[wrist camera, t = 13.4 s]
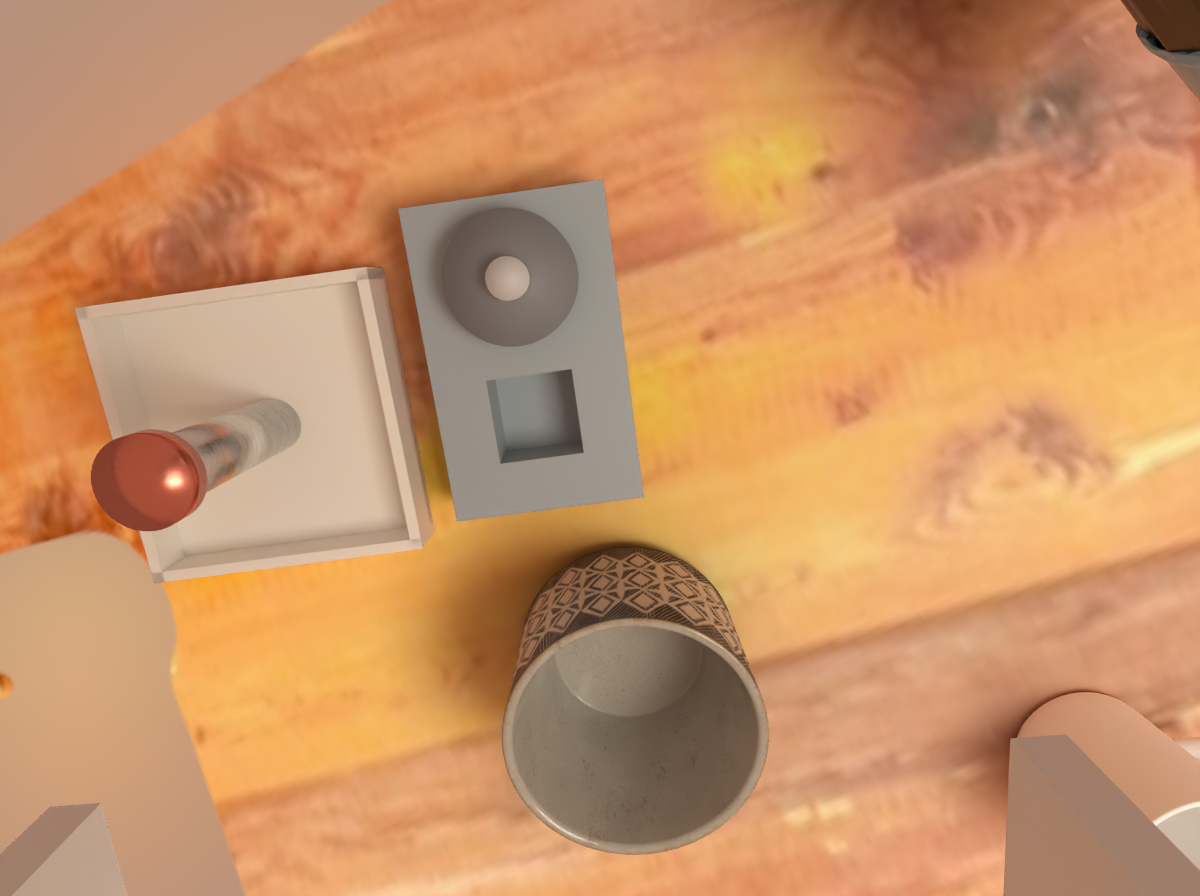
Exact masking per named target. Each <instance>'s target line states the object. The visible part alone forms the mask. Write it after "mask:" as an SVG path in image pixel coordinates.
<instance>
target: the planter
mask: <svg viewBox="0 0 1200 896" xmlns="http://www.w3.org/2000/svg"><path fill="white" fill-rule="evenodd" d="M768 742H769V727H768V719H767V713H766V709H765V705H764V702H763V699H762V697H761V694H760V691H759V689H758V686H757V684H756V681H755V678H754V676H753V673H752V671H751V668H750V666H749V663H748V660H747V658H746V655H745V653H744V650H743V647H742V645H741V642H740V640H739V637H738V635H737V632H736V629H735V627H734V624H733V622H732V619H731V617H730V614H729V611H728V609H727V607H726V605H725V603H724V601H723V599H722V597H721V596H720V594H719V593H718V591H717V590H716V588H715V587H714V586H713V585H712V584H711V582H710V581H709V580H708V579H707V578H706V577H705V576H704V575H702V574H701V573H700V572H699V571H698V570H696V569H695V568H694V567H692V566H691V565H689V564H688V563H686V562H684V561H682V560H680V559H678V558H676V557H674V556H672V555H669V554H666V553H663V552H660V551H656V550H652V549H646V548H637V547H622V548H612V549H607V550H602V551H598V552H595V553H592V554H589V555H586V556H584V557H582V558H580V559H577V560H576V561H574V562H572V563H570V564H569V565H567V566H566V567H564V568H563V569H562V570H560V571H559V572H558V573H556V574H555V575H554V576H553V577H552V578H551V579H550V580H549V581H548V582H547V583H546V584H545V586H544V587H543V588H542V589H541V591H540V592H539V593H538V595H537V596H536V598H535V600H534V602H533V603H532V605H531V608H530V610H529V612H528V615H527V618H526V621H525V625H524V629H523V633H522V638H521V642H520V647H519V651H518V656H517V660H516V665H515V669H514V674H513V678H512V682H511V687H510V691H509V696H508V700H507V705H506V709H505V714H504V719H503V726H502V748H503V755H504V761H505V764H506V768H507V771H508V774H509V777H510V779H511V781H512V783H513V785H514V787H515V789H516V791H517V793H518V794H519V796H520V797H521V799H522V800H523V802H524V803H525V804H526V806H527V807H528V808H529V809H530V810H531V811H532V812H533V813H534V814H535V815H536V817H537V818H539V819H540V820H541V821H542V822H543V823H544V824H546V825H547V826H548V827H550V828H551V829H552V830H554V831H555V832H557V833H558V834H560V835H562V836H563V837H565V838H567V839H569V840H571V841H573V842H575V843H578V844H580V845H583V846H586V847H589V848H592V849H595V850H599V851H604V852H609V853H615V854H627V855H640V854H652V853H659V852H665V851H669V850H673V849H677V848H680V847H683V846H686V845H688V844H691V843H693V842H695V841H697V840H699V839H701V838H703V837H705V836H707V835H709V834H710V833H712V832H713V831H715V830H716V829H718V828H719V827H721V826H722V825H723V824H724V823H726V822H727V821H728V820H729V819H730V818H731V817H732V816H733V815H735V813H736V812H737V811H738V810H739V809H740V808H741V807H742V806H743V804H744V803H745V802H746V801H747V799H748V798H749V796H750V795H751V793H752V792H753V790H754V788H755V787H756V785H757V783H758V781H759V778H760V776H761V774H762V771H763V768H764V765H765V761H766V757H767V751H768Z"/></svg>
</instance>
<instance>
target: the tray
mask: <svg viewBox="0 0 1200 896" xmlns="http://www.w3.org/2000/svg"><path fill="white" fill-rule="evenodd" d="M74 309H75V312H76V315H77V319H78V322H79V326H80V329H81V333H82V336H83V339H84V343H85V346H86V350H87V353H88V357H89V360H90V364H91V367H92V370H93V374H94V377H95V381H96V384H97V388H98V391H99V394H100V398H101V401H102V405H103V408H104V412H105V415H106V418H107V422H108V425H109V429H110V432H111V436H112V439H113V440H114V439H117V438H120V437H123V436H126V435H129V434H132V433H135V432H138V431H141V430H147V429H159V430H164V431H168V432H171V433H172V432H175V431H178V430H181V429H183V428H186V427H189V426H192V425H195V424H197V423H200V422H203V421H206V420H209V419H211V418H214V417H217V416H220V415H223V414H226V413H228V412H231V411H234V410H237V409H240V408H242V407H245V406H248V405H251V404H254V403H256V402H259V401H262V400H265V399H279V400H282V401H284V402H286V403H288V404H289V405H290V406H291V407H292V408H293V409H294V410H295V411H296V412H297V414H298V416H299V418H300V422H301V432H300V436H299V438H298V440H297V441H296V443H295V444H294V445H293V446H291V447H290V448H288V449H286V450H284V451H282V452H281V453H279V454H277V455H275V456H273V457H271V458H269V459H268V460H266V461H264V462H262V463H260V464H258V465H256V466H255V467H253V468H251V469H249V470H247V471H245V472H243V473H242V474H240V475H238V476H236V477H234V478H232V479H230V480H229V481H227V482H225V483H223V484H221V485H219V486H217V487H216V488H214V489H212V490H210V491H208V492H206V495H205V497H204V500H203V501H202V503H201V505H200V506H199V507H198V509H196V510H195V511H194V512H193V513H192V514H190V515H189V516H187V517H186V518H184V519H182V520H180V521H179V522H177V523H175V524H173V525H172V526H170V527H168V528H165V529H162V530H158V531H139V532H140V535H141V539H142V542H143V545H144V549H145V552H146V556H147V559H148V563H149V566H150V569H151V572H152V576H153V580H154V583H161V582H168V581H176V580H184V579H192V578H199V577H207V576H215V575H223V574H230V573H238V572H246V571H254V570H261V569H269V568H277V567H285V566H292V565H300V564H308V563H315V562H323V561H331V560H339V559H346V558H354V557H362V556H370V555H377V554H385V553H393V552H401V551H408V550H416V549H423V548H424V546H425V545H426V543H427V542H428V540H429V539H430V537H431V536H432V534H433V533H434V531H435V529H434V524H433V518H432V513H431V508H430V503H429V498H428V493H427V488H426V483H425V478H424V473H423V468H422V462H421V457H420V452H419V447H418V442H417V437H416V432H415V427H414V422H413V417H412V412H411V406H410V401H409V396H408V391H407V386H406V381H405V376H404V371H403V366H402V361H401V356H400V350H399V345H398V340H397V335H396V330H395V325H394V320H393V315H392V310H391V305H390V300H389V294H388V289H387V284H386V279H385V274H384V269H383V268H376V267H362V268H355V269H347V270H340V271H333V272H326V273H319V274H312V275H305V276H298V277H291V278H284V279H277V280H270V281H263V282H256V283H249V284H242V285H235V286H228V287H221V288H213V289H206V290H199V291H192V292H185V293H178V294H171V295H164V296H157V297H150V298H143V299H136V300H129V301H122V302H115V303H108V304H101V305H94V306H87V307H79V308H74Z"/></svg>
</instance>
